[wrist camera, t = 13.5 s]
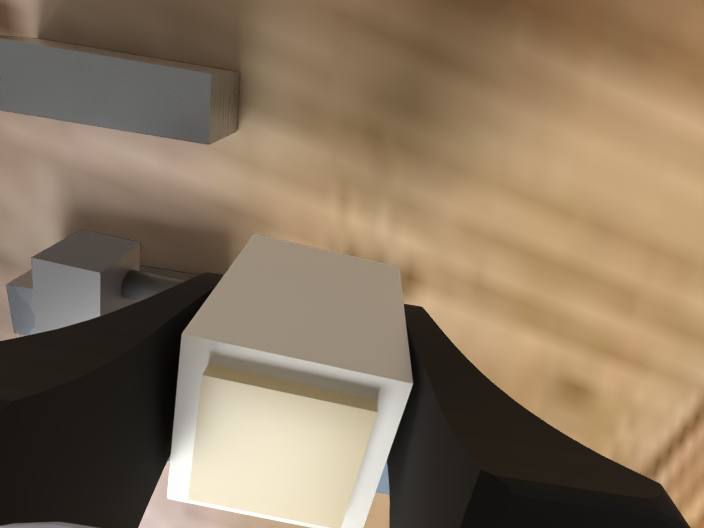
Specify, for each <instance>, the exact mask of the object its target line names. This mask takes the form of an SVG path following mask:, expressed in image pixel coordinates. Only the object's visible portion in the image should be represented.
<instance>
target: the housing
mask: <svg viewBox="0 0 704 528" xmlns="http://www.w3.org/2000/svg"><path fill="white" fill-rule="evenodd" d="M239 80H240V72H236V71H230V70H224V69H218V68H212V67H206V66H200V65H194V64H188V63H182V62H176V61H170V60H164V59H158V58H152V57H146V56H140V55H134V54H128V53H122V52H116V51H110V50H104V49H98V48H92V47H86V46H80V45H74V44H68V43H62V42H56V41H50V40H44V39H38V38H28V37H15V36H3V35H0V110H1V111H7V112H13V113H19V114H25V115H32V116H38V117H44V118H50V119H56V120H62V121H68V122H74V123H80V124H86V125H92V126H98V127H104V128H111V129H117V130H123V131H129V132H135V133H141V134H147V135H153V136H159V137H165V138H171V139H177V140H183V141H190V142H196V143H202V144H208V145H209V144H212V143H214V142H216V141H218V140H220V139H222V138H224V137H226V136H228V135H231V134H233V133H235V132H237V118H238V99H239ZM139 271H141V272H145V273H150V274H154V275H159V276H163V277H168V278H172V279H177V280H181V281H187V280H189V279H191V278H193V277H196V276H198V275H196V274H190V273H184V272H178V271H171V270H165V269H159V268H153V267H147V266H140V268H139ZM6 287H7V293H8V299H9V305H10V311H11V317H12V323H13V329H14V333H18V334H25V335H32V334H37V333H41V332H43V331H39V330H36V329H35V312H34V296H33V279H32V270H30V271H28V272H27V273H25V274H23V275H21V276H20V277H18V278H16V279H15V280H13V281H11V282H10V283H8V284H6Z"/></svg>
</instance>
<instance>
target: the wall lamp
mask: <svg viewBox="0 0 704 528" xmlns="http://www.w3.org/2000/svg"><path fill="white" fill-rule="evenodd" d="M140 245H141V242H136V241H132V240H127V239H123V238H118V237H114V236H109V235H105V234H101V233H96V232H92V231H87V230H83V229H81V230H80V231H78V232H76V233H74V234H72V235H71V236H69V237H67V238H65V239H64V240H62V241H60V242H58V243H56V244H55V245H53V246H51V247H49V248H47V249H46V250H44V251H42V252H40V253H38V254H37V255H35V256H33V257H31V263H32V279H33V296H34V312H35V329H36V330H39V331H43V332H46V331H50V330H54V329H59V328H62V327H66V326H70V325H73V324H76V323H80V322H83V321H87V320H90V319H93V318H96V317H99V316H102V315H105V314H108V313H111V312H114V311H116V310H119V309H121V308H124V307H126V306H129V305H131V304H134V303H136V302H139V301H141V300H144V299H146V298H149V297H151V296H153V295H156V294H158V293H160V292H162V291H165V290H167V289H169V288H171V287H173V286H176V285H178V284H180V283H182V282H184V281H181V280H177V279H172V278H168V277H163V276H159V275H154V274H150V273H145V272H141V271H139V268H140ZM405 320H406V319H405V311H404V302H403V294H402V286H401V277H400V269H399V267H398V266H394V265H390V264H385V263H381V262H376V261H372V260H368V259H363V258H359V257H354V256H350V255H346V254H341V253H337V252H333V251H328V250H324V249H319V248H315V247H311V246H306V245H302V244H298V243H293V242H289V241H284V240H280V239H276V238H271V237H267V236H262V235H258V234H253V236H252V237H251V238H250V240H249V241H248V243H247V244H246V245H245V247H244V248H243V249H242V251H241V252H240V254H239V255H238V256H237V258H236V259H235V261H234V262H233V263H232V265H231V266H230V267H229V269H228V270H227V272H226V273H225V274H224V276H223V277H222V279H221V280H220V281H219V283H218V284H217V285H216V287H215V288H214V290H213V291H212V292H211V294H210V295H209V297H208V298H207V299H206V301H205V302H204V304H203V305H202V306H201V308H200V309H199V310H198V312H197V313H196V315H195V316H194V317H193V319H192V320H191V322H190V323H189V324H188V326H187V327H186V328H185V330H184V331H183V333H182V336H181V347H180V358H179V369H178V380H177V391H176V402H175V413H174V424H173V435H172V446H171V458H170V469H169V480H168V491H167V499H171V500H176V501H181V502H186V503H191V504H196V505H201V506H206V507H211V508H216V509H221V510H226V511H231V512H236V513H241V514H246V515H251V516H256V517H261V518H266V519H271V520H276V521H281V522H286V523H291V524H296V525H301V526H306V527H311V528H363V527H364V524H365V521H366V518H367V515H368V512H369V509H370V507H371V504H372V501H373V498H374V495H375V492H376V489H377V486H378V484H379V481H380V478H381V475H382V472H383V469H384V466H385V463H386V461H387V458H388V455H389V452H390V449H391V446H392V443H393V440H394V438H395V435H396V432H397V429H398V426H399V423H400V420H401V417H402V415H403V412H404V409H405V406H406V403H407V400H408V397H409V394H410V392H411V389H412V386H413V378H412V370H411V361H410V353H409V345H408V336H407V328H406V321H405Z"/></svg>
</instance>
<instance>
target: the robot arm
mask: <svg viewBox="0 0 704 528" xmlns="http://www.w3.org/2000/svg"><path fill="white" fill-rule="evenodd" d="M223 276H224V275H219V274H213V273H204V274H201V275H198V276H196V277H193V278H191V279H189V280H187V281H184V282H182V283H180V284H178V285H176V286H173V287H171V288H169V289H167V290H165V291H162V292H160V293H158V294H156V295H153V296H151V297H149V298H146V299H144V300H141V301H139V302H136V303H134V304H131V305H129V306H126V307H124V308H121V309H119V310H116V311H114V312H111V313H108V314H105V315H102V316H99V317H96V318H93V319H90V320H87V321H83V322H80V323H76V324H73V325H70V326H66V327H62V328H59V329H54V330H50V331H46V332H41V333H37V334H32V335H28V336H23V337H19V338H14V339H10V340H5V341H0V528H138V527H139V524H140V522H141V520H142V517H143V515H144V512H145V510H146V508H147V505H148V503H149V501H150V498H151V496H152V494H153V492H154V489H155V487H156V485H157V483H158V480H159V478H160V476H161V474H162V471H163V469H164V467H165V465H166V463H167V461H168V459H169V457H170V455H171V446H172V435H173V424H174V413H175V402H176V391H177V380H178V369H179V358H180V347H181V336H182V333H183V331H184V330H185V328H186V327H187V326H188V324H189V323H190V322H191V320H192V319H193V317H194V316H195V315H196V313H197V312H198V310H199V309H200V308H201V306H202V305H203V304H204V302H205V301H206V299H207V298H208V297H209V295H210V294H211V292H212V291H213V290H214V288H215V287H216V285H217V284H218V283H219V281H220V280H221V279H222V277H223ZM404 311H405V319H406V320H405V321H406V328H407V336H408V345H409V353H410V361H411V370H412V378H413V386H412V389H411V392H410V394H409V397H408V400H407V403H406V406H405V409H404V412H403V415H402V417H401V420H400V423H399V426H398V429H397V432H396V435H395V438H394V440H393V443H392V446H391V449H390V452H389V455H388V458H387V466H388V477H389V494H390V528H690V526H689V525H688V523H687V522H686V520H685V519H684V518H683V516H682V515H681V513H680V512H679V510H678V509H677V507H676V506H675V504H674V503H673V501H672V500H671V498H670V497H669V495H668V494H667V493H666V491H665V490H664V488H663V487H662V485H661V484H659V483H657V482H655V481H653V480H651V479H649V478H647V477H645V476H643V475H641V474H639V473H637V472H635V471H633V470H631V469H628V468H626V467H624V466H622V465H620V464H618V463H616V462H614V461H612V460H610V459H608V458H606V457H604V456H602V455H600V454H598V453H596V452H595V451H593V450H591V449H589V448H587V447H586V446H584V445H582V444H580V443H579V442H577V441H575V440H573V439H572V438H570V437H568V436H566V435H565V434H563V433H562V432H560V431H558V430H557V429H555V428H554V427H552V426H550V425H549V424H547V423H546V422H544V421H543V420H541V419H540V418H538V417H537V416H536V415H534V414H533V413H531V412H530V411H528V410H527V409H525V408H524V407H523V406H521V405H520V404H519V403H517V402H516V401H514V400H513V399H512V398H511V397H509V396H508V395H507V394H506V393H505V392H503V391H502V390H501V389H500V388H498V387H497V386H496V385H495V384H494V383H492V382H491V381H490V380H489V379H488V378H487V377H486V376H484V375H483V374H482V373H481V372H480V371H479V370H478V369H477V368H476V367H475V366H474V365H473V364H472V363H471V362H470V361H469V360H468V359H467V358H466V357H465V356H464V355H463V354H462V353H461V352H460V351H459V350H458V348H457V347H456V346H455V345H454V344H453V343H452V342H451V341H450V339H449V338H448V337H447V336H446V335H445V334H444V332H443V331H442V330H441V329H440V328H439V326H438V325H437V324H436V323H435V322H434V320H433V319H432V318H431V317H430V315H429V314H428V313H427V312H426V311H425V310H424V308H423V307H420V306H414V305H408V304H404Z"/></svg>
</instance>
